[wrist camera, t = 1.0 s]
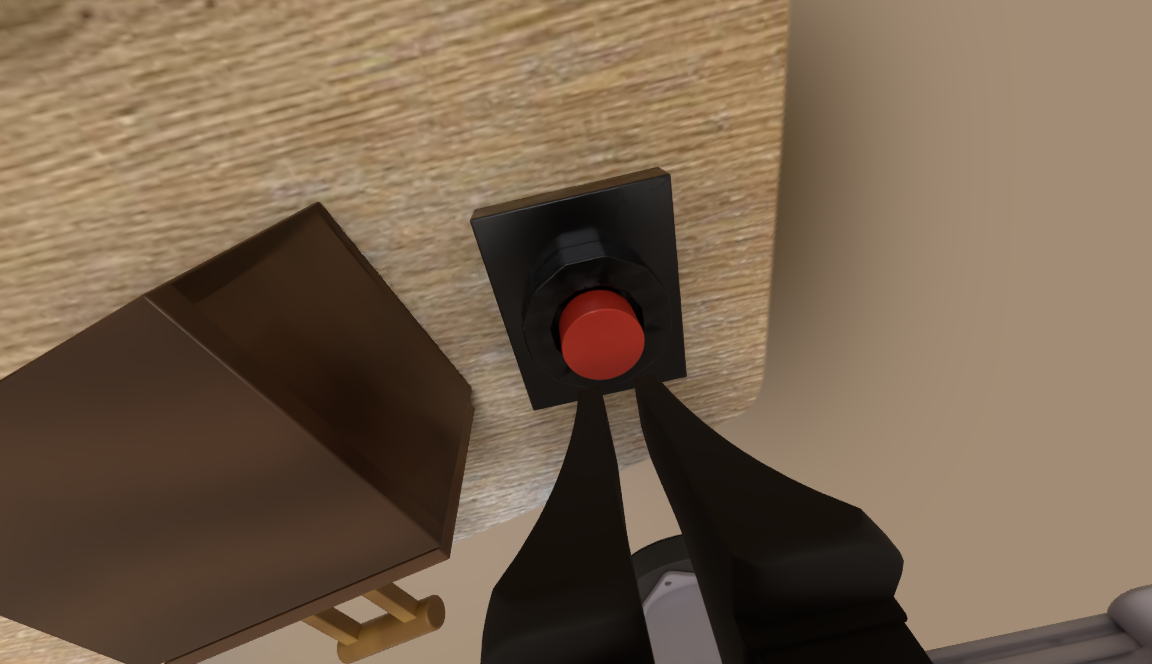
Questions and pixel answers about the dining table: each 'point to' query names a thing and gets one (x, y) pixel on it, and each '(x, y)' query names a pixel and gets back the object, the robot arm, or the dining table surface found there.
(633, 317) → the button
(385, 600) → the door
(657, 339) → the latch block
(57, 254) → the dining table surface
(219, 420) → the compartment
